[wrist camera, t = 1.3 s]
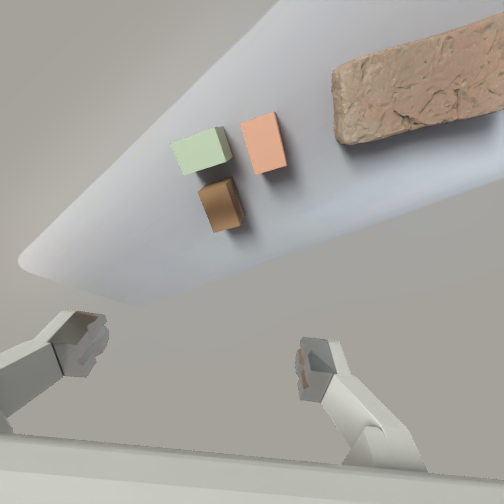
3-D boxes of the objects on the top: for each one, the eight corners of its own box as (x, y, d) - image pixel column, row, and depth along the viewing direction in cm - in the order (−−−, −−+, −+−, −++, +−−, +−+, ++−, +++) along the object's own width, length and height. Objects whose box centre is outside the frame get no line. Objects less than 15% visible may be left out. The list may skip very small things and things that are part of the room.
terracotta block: (245, 122, 33) (240, 123, 29) (275, 112, 32) (273, 111, 28) (258, 168, 36) (255, 175, 32) (286, 160, 35) (286, 165, 31)
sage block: (223, 126, 34) (214, 127, 30) (232, 156, 36) (226, 161, 32) (183, 140, 35) (170, 143, 31) (194, 169, 37) (183, 175, 33)
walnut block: (207, 184, 38) (197, 192, 34) (232, 176, 37) (225, 183, 33) (221, 221, 40) (213, 232, 36) (244, 215, 39) (240, 226, 35)
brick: (335, 145, 34) (343, 149, 29) (328, 70, 30) (335, 62, 26) (481, 110, 30) (512, 108, 26) (492, 20, 26) (531, 2, 22)
